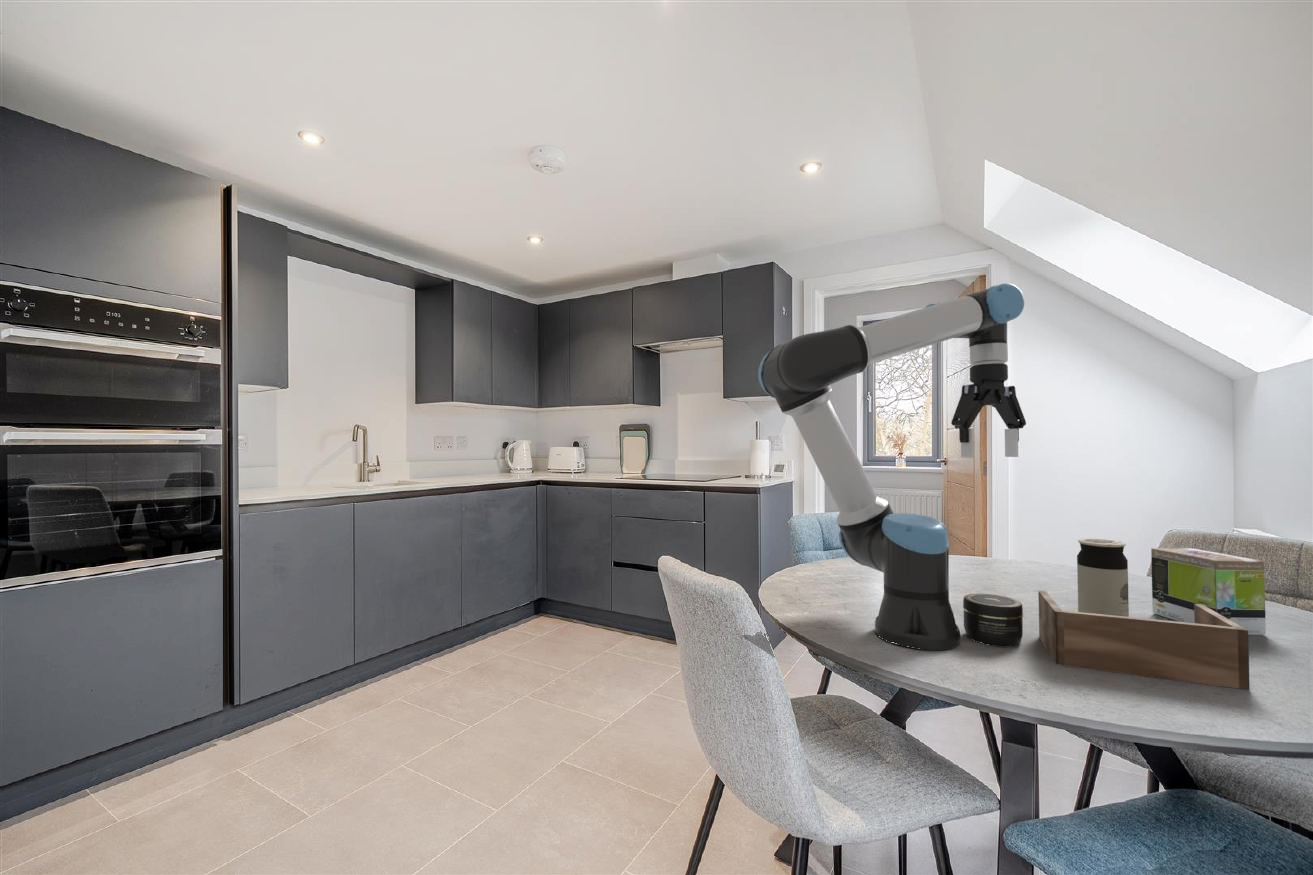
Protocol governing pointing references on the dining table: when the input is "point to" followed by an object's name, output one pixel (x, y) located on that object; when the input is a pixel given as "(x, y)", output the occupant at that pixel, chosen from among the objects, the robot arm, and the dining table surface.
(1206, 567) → the tea box
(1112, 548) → the travel mug
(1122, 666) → the walnut crate
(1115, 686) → the dining table surface
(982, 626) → the jar
